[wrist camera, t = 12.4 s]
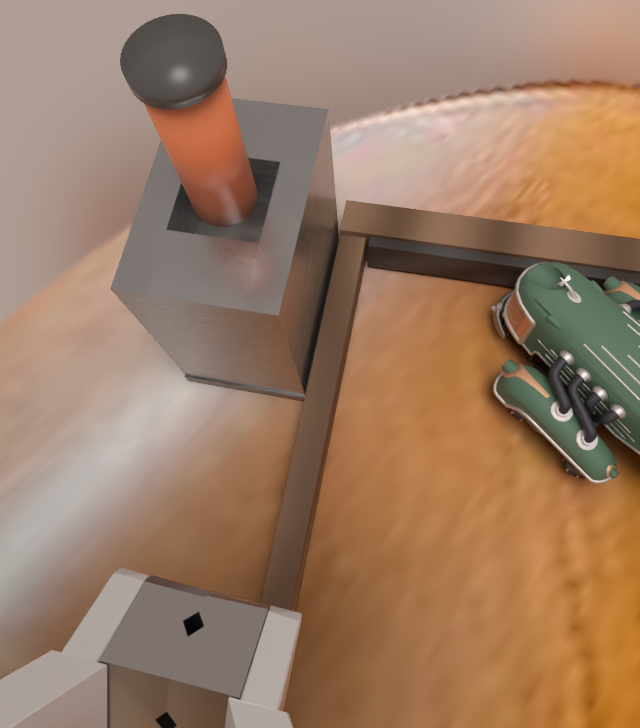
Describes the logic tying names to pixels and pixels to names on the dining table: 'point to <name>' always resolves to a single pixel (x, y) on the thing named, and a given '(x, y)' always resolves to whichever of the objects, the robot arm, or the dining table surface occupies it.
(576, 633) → the dining table surface
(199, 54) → the orange and black cylinder
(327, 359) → the brown flat square frame
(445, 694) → the dining table surface
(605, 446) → the hoverbike
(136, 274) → the grey holder box
